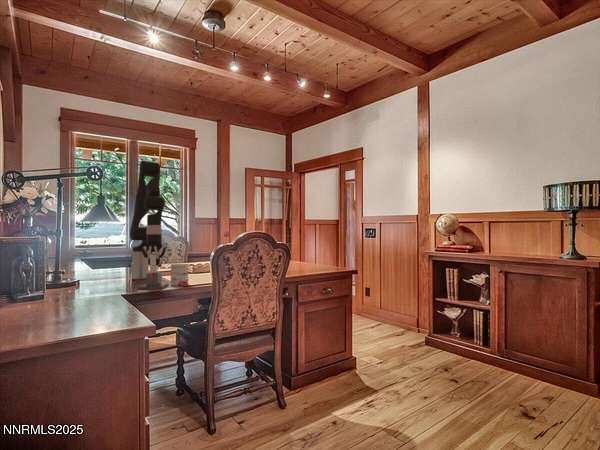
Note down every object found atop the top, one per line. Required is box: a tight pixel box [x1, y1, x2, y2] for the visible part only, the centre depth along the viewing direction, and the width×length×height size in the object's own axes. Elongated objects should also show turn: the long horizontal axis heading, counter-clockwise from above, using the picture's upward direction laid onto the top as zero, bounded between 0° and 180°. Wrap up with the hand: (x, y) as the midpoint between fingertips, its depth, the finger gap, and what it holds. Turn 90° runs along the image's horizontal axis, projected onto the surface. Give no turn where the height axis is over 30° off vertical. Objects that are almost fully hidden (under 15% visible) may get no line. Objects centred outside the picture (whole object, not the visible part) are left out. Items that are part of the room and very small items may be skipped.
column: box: [149, 252, 159, 273], centre depth 186 cm, size 4×4×16 cm
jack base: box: [137, 271, 169, 291], centre depth 186 cm, size 12×12×8 cm
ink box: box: [170, 263, 189, 286], centre depth 196 cm, size 9×5×12 cm, turn 84°
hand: (153, 265), depth 187 cm, fingers closed on column, 3 cm apart
